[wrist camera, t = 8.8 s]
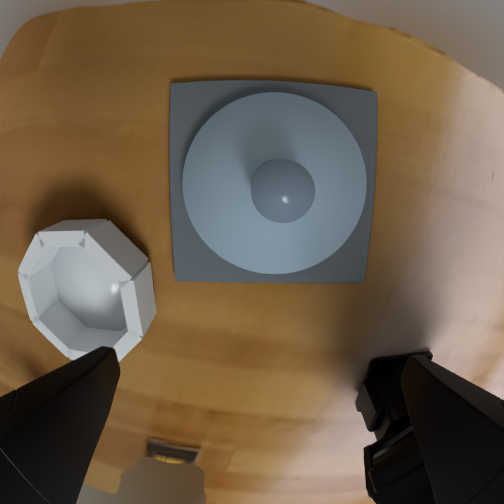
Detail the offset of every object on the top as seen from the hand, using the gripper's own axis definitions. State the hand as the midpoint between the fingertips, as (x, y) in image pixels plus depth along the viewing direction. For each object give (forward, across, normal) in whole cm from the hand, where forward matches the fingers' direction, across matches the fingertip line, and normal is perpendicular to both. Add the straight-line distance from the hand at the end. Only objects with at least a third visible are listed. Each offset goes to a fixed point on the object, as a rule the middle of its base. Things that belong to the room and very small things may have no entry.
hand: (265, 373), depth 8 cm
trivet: (+12, -1, -4) cm, 13 cm away
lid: (+12, -1, -4) cm, 13 cm away
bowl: (+12, +12, +3) cm, 18 cm away
